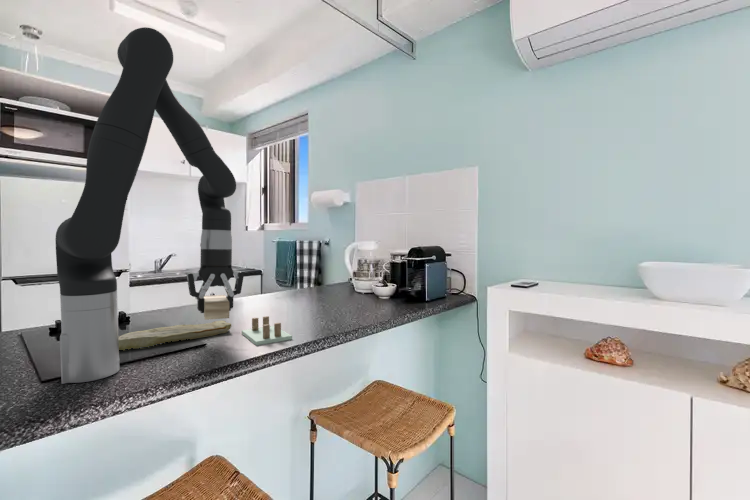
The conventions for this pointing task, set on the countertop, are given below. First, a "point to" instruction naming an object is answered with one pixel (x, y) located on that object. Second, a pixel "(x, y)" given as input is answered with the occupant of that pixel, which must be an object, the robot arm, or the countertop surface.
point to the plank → (216, 307)
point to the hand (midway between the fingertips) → (215, 311)
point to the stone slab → (171, 334)
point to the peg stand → (265, 332)
